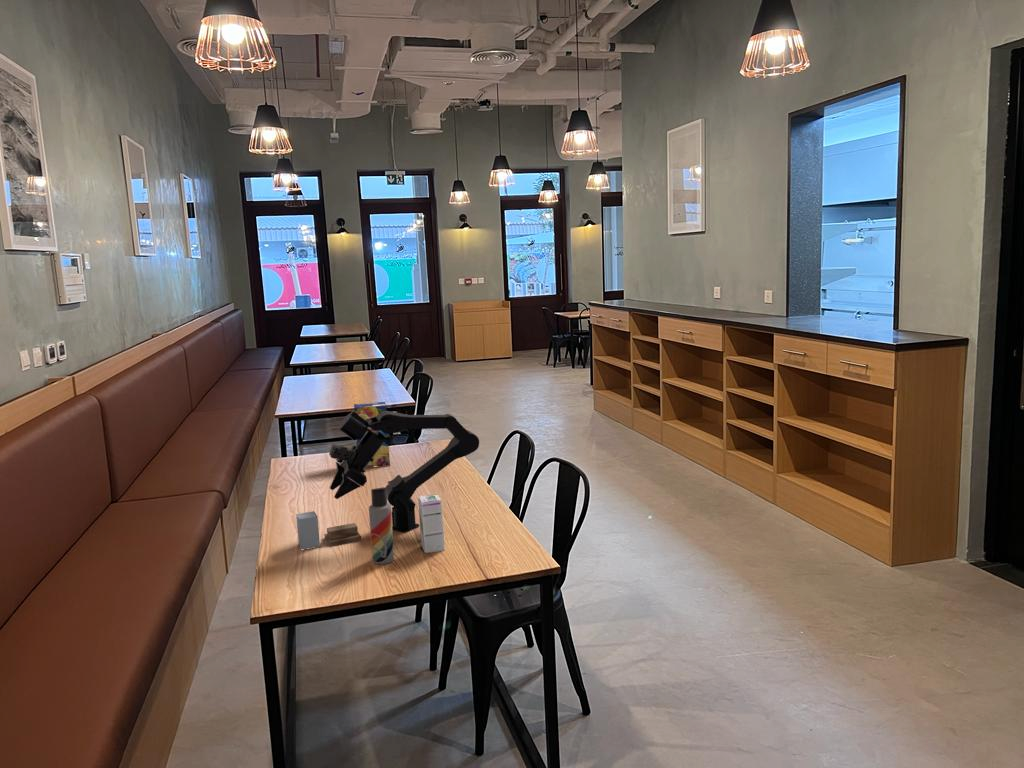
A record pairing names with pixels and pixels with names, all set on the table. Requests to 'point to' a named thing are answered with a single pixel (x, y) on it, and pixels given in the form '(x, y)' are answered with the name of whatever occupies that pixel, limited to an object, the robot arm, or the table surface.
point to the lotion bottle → (381, 527)
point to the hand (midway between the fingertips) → (333, 493)
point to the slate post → (308, 530)
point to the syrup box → (431, 523)
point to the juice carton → (368, 412)
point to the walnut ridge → (342, 534)
